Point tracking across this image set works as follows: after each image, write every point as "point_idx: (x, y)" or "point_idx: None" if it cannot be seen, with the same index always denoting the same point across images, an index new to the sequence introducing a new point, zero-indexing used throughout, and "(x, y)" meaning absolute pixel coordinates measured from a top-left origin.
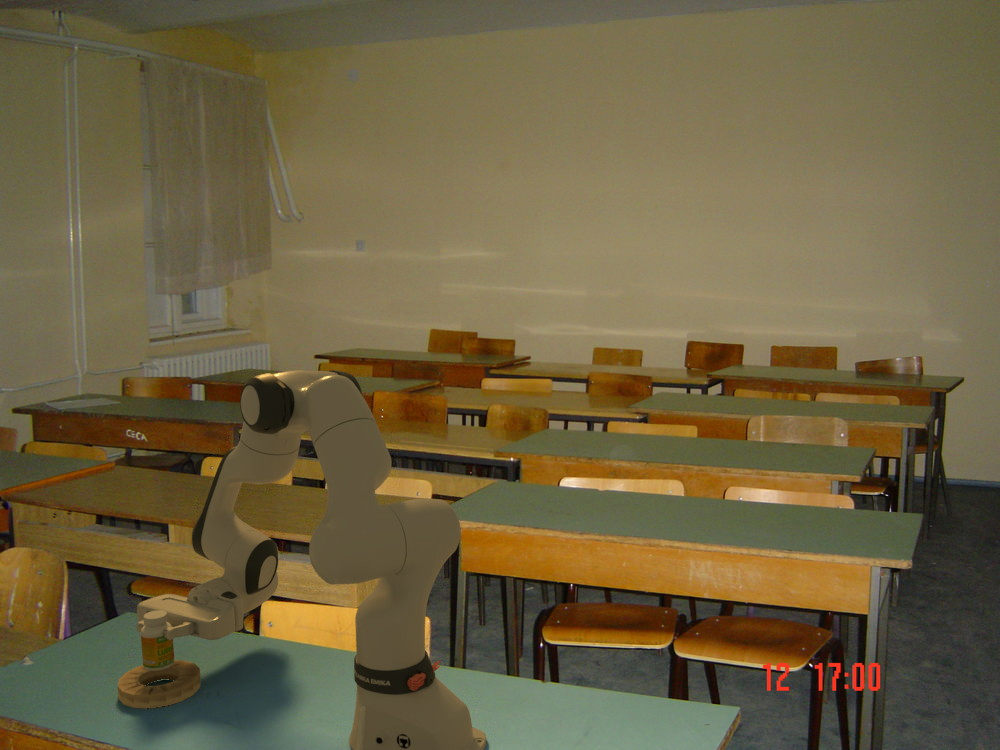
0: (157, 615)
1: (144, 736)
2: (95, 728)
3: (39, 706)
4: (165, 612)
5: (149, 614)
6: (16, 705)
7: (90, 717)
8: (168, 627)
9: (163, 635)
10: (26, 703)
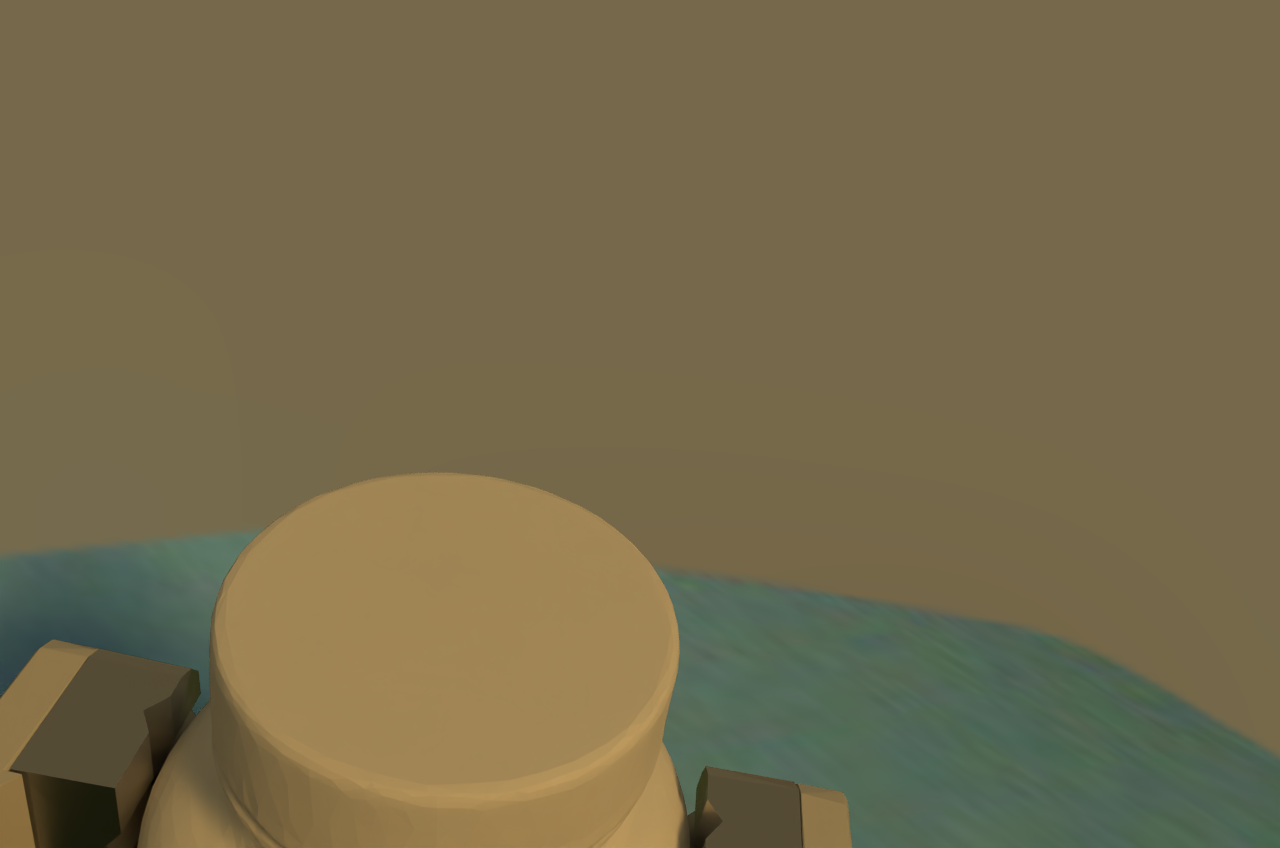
0: (380, 583)
1: (97, 586)
2: None
3: (1048, 741)
4: (286, 719)
5: (568, 586)
6: (1174, 724)
7: None
8: (136, 746)
9: (193, 714)
10: (1156, 754)
